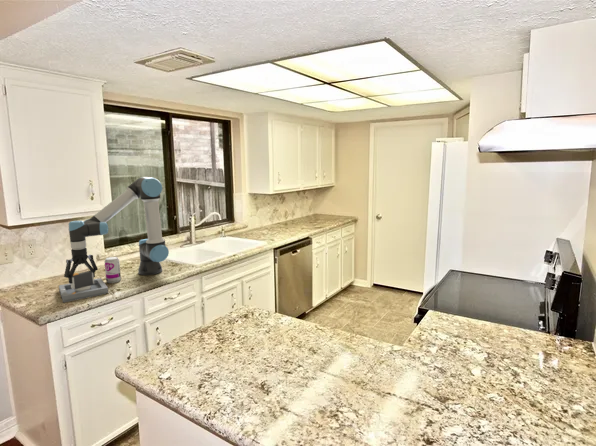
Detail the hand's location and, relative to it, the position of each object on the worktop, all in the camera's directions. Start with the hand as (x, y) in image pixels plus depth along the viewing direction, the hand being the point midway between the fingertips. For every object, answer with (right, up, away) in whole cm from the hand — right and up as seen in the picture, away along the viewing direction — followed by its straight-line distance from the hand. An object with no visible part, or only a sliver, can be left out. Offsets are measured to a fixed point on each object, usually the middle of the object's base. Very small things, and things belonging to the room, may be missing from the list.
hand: (82, 285), depth 211 cm
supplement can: (+8, -1, +20) cm, 22 cm away
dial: (0, -2, 0) cm, 3 cm away
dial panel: (0, -4, +1) cm, 4 cm away
